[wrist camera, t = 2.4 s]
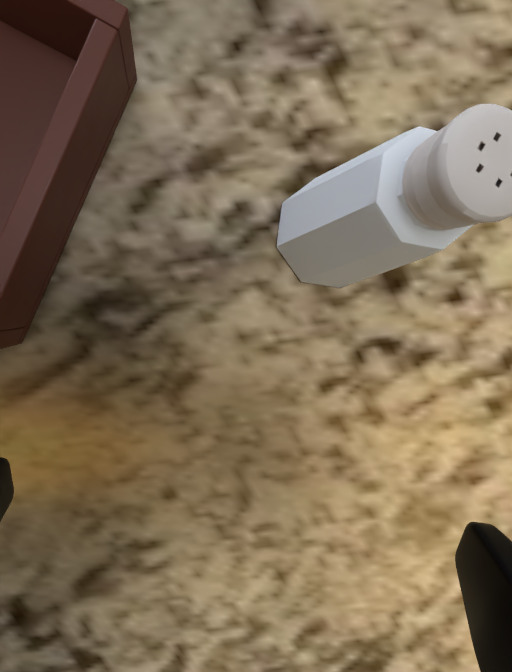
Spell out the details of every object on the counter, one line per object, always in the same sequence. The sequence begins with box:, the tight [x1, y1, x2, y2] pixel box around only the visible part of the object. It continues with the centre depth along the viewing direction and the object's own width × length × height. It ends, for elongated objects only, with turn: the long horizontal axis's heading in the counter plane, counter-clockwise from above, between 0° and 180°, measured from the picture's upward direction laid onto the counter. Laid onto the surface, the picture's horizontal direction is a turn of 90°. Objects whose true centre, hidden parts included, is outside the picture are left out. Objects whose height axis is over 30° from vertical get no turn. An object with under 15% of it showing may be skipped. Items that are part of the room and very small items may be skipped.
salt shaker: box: [276, 104, 512, 288], centre depth 15 cm, size 5×5×11 cm
